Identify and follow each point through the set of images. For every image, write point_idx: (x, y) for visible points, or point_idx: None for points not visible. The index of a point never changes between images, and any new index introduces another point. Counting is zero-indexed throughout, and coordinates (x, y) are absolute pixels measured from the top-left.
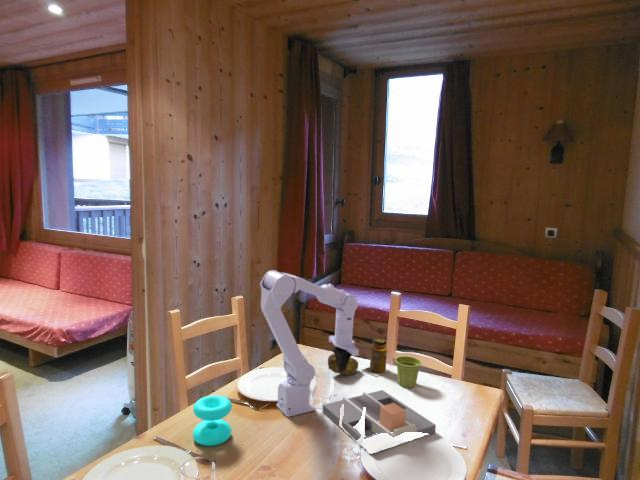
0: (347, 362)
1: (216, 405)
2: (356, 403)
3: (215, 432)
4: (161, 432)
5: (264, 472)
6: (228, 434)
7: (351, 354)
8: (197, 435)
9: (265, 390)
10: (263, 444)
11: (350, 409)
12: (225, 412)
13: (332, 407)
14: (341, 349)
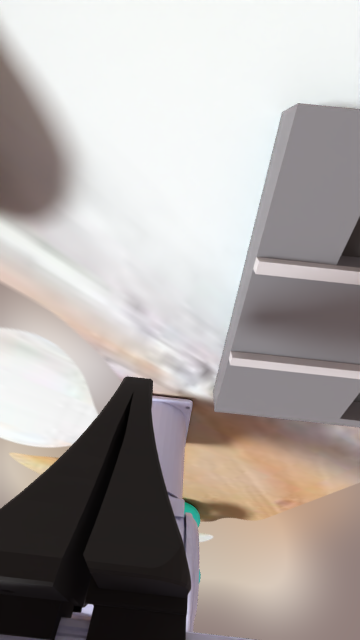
0: (152, 428)
1: None
2: (284, 338)
3: None
4: None
5: (291, 506)
6: (195, 516)
7: (174, 521)
8: None
9: (41, 422)
10: (235, 488)
11: (296, 376)
12: (199, 576)
13: (245, 403)
14: (80, 595)
